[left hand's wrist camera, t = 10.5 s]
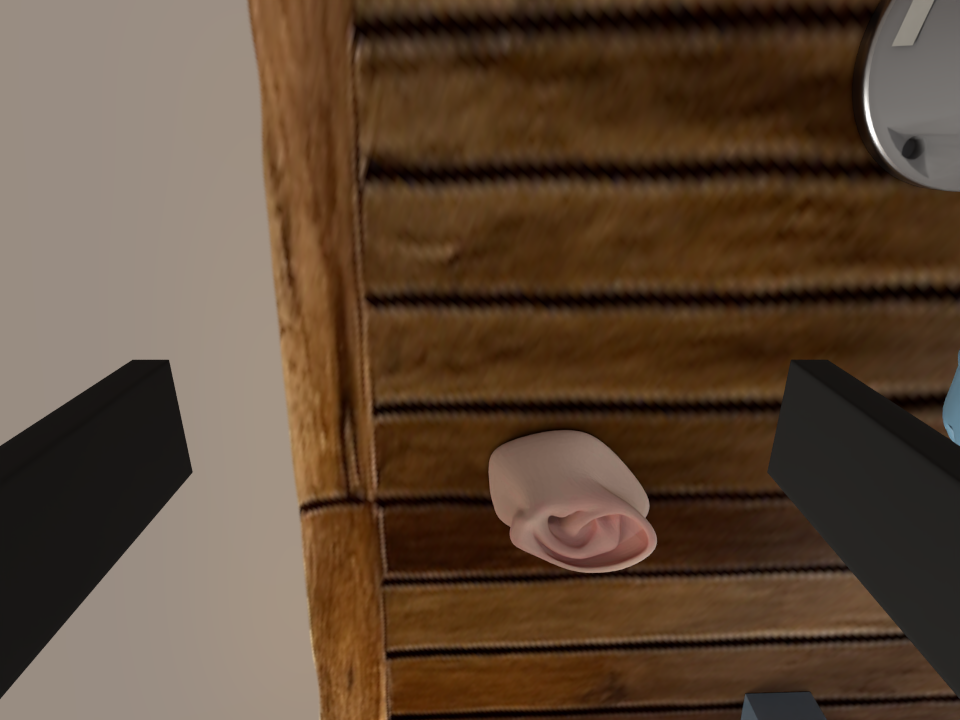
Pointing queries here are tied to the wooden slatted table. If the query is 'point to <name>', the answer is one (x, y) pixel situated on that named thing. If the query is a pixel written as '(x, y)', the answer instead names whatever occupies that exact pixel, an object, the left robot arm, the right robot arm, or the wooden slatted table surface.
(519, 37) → the wooden slatted table surface
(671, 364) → the wooden slatted table surface
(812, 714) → the brick
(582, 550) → the anatomical model
